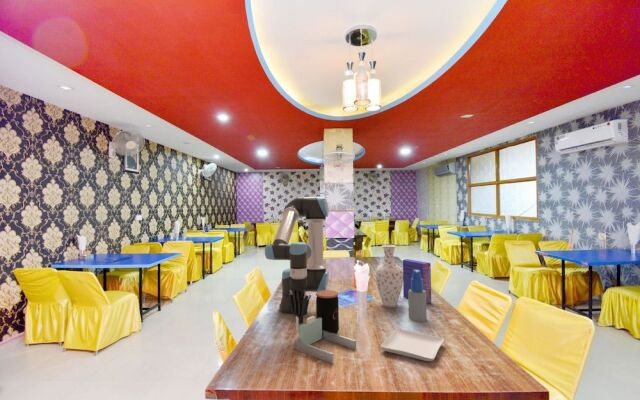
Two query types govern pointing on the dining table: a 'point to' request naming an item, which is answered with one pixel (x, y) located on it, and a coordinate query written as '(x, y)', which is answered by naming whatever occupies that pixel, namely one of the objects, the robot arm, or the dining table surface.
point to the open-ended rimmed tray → (322, 353)
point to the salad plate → (413, 344)
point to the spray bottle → (417, 298)
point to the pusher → (311, 330)
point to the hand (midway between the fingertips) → (299, 330)
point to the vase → (389, 278)
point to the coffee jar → (328, 310)
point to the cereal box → (425, 275)
